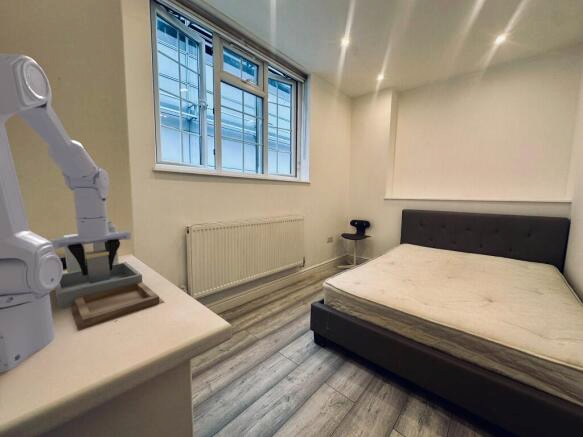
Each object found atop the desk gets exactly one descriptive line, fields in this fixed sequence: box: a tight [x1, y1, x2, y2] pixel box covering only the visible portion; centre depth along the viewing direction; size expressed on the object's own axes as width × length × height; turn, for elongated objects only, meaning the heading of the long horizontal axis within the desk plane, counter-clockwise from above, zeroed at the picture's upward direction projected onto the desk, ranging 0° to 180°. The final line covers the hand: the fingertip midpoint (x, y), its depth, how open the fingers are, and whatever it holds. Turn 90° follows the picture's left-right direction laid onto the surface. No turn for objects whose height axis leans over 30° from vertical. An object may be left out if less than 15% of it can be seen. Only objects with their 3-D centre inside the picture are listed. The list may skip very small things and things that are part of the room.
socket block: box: [69, 281, 166, 332], centre depth 50 cm, size 14×14×2 cm
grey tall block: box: [84, 249, 111, 284], centre depth 57 cm, size 4×4×7 cm
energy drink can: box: [92, 220, 120, 264], centre depth 74 cm, size 6×6×15 cm
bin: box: [54, 261, 143, 309], centre depth 58 cm, size 15×15×4 cm
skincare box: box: [62, 233, 86, 273], centre depth 67 cm, size 6×4×12 cm
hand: (97, 271), depth 58 cm, fingers closed on grey tall block, 4 cm apart
